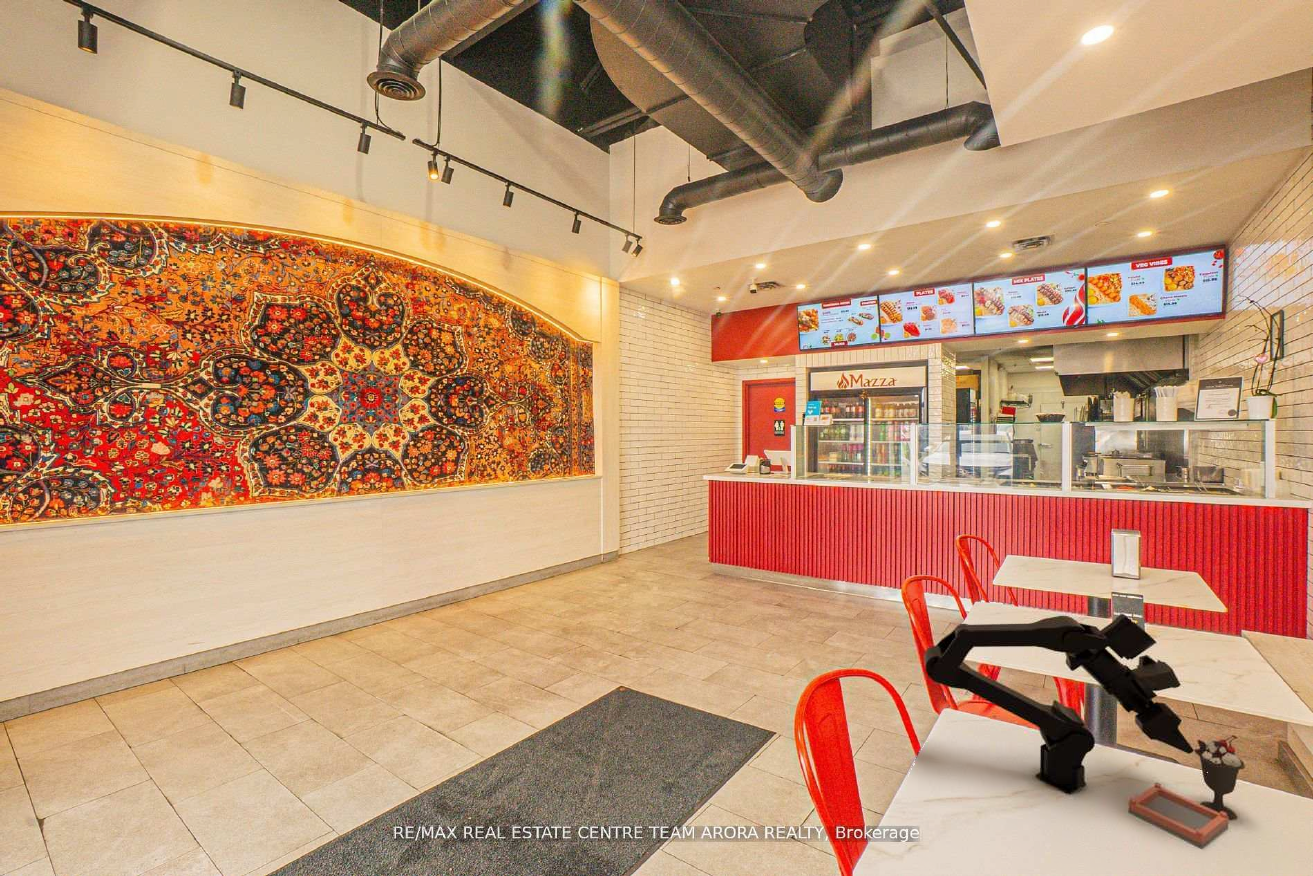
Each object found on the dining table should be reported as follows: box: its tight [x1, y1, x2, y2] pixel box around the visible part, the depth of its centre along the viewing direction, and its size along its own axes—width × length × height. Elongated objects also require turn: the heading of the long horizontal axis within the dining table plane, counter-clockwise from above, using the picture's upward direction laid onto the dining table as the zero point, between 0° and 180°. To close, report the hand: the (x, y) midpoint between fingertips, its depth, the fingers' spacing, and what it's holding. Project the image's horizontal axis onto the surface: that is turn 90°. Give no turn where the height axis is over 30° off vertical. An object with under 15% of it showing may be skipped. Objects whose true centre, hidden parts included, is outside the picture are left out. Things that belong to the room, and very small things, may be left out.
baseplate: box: [1128, 781, 1229, 849], centre depth 107 cm, size 11×11×3 cm
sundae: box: [1193, 734, 1246, 821], centre depth 109 cm, size 7×7×15 cm
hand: (1179, 739), depth 111 cm, fingers open, 9 cm apart
